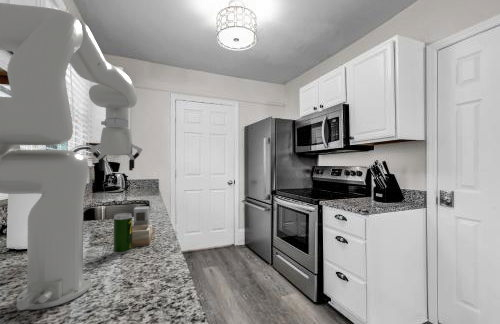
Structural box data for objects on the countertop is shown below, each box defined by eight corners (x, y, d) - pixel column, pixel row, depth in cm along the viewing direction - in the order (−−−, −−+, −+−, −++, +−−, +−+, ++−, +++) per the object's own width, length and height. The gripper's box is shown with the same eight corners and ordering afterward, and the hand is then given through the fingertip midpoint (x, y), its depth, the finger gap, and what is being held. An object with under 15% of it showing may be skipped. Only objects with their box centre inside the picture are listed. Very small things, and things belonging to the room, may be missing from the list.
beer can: (114, 255, 74) (114, 217, 74) (112, 250, 79) (113, 214, 79) (133, 252, 77) (133, 215, 77) (130, 247, 82) (131, 212, 82)
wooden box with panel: (149, 245, 84) (149, 213, 84) (120, 247, 82) (121, 215, 82) (154, 232, 99) (154, 206, 99) (130, 234, 97) (130, 207, 97)
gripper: (87, 122, 84) (86, 170, 84) (140, 124, 89) (140, 170, 89) (94, 125, 91) (94, 170, 91) (143, 127, 96) (143, 170, 96)
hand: (116, 170), depth 90 cm, fingers open, 9 cm apart
